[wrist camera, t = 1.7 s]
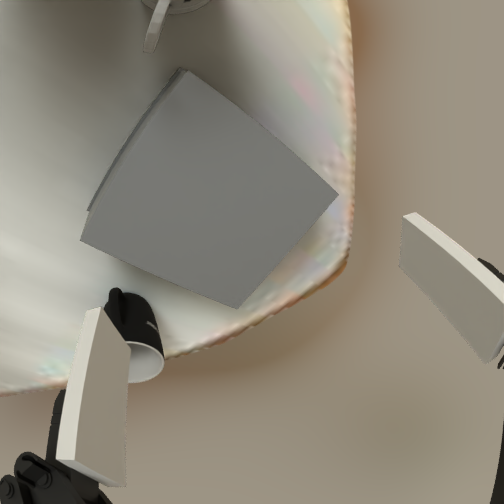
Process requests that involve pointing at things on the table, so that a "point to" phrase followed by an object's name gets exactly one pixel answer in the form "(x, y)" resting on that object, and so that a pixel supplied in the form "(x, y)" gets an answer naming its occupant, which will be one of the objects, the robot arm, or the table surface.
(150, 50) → the glass holder
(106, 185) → the large grey square box
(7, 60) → the table surface
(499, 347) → the robot arm
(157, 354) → the mug
